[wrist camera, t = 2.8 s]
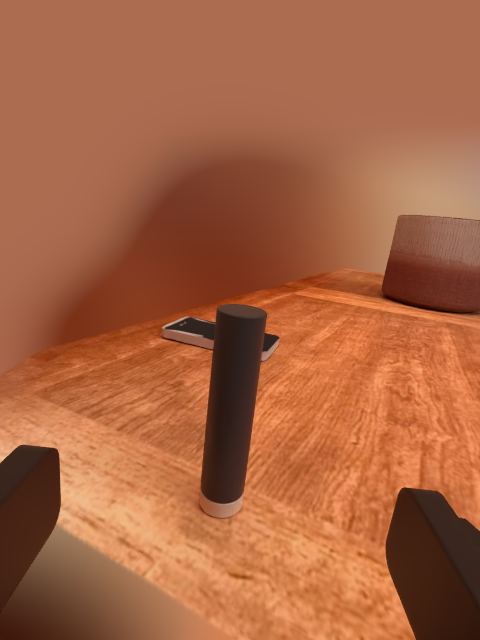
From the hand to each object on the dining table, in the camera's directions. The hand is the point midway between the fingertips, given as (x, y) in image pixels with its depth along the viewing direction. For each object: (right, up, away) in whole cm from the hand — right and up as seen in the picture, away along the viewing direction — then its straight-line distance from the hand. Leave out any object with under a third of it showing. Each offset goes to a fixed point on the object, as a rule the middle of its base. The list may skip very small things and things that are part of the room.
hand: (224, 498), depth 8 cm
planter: (+52, +9, +91) cm, 105 cm away
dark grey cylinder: (-1, -7, +13) cm, 15 cm away
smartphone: (-2, +1, +42) cm, 42 cm away
